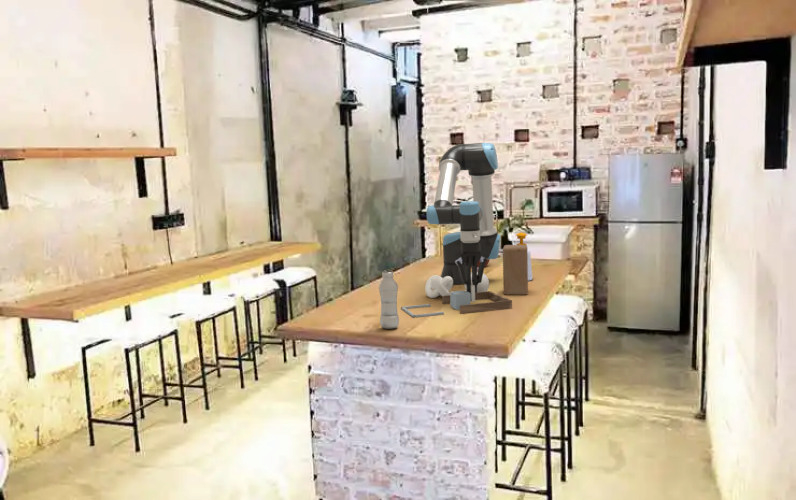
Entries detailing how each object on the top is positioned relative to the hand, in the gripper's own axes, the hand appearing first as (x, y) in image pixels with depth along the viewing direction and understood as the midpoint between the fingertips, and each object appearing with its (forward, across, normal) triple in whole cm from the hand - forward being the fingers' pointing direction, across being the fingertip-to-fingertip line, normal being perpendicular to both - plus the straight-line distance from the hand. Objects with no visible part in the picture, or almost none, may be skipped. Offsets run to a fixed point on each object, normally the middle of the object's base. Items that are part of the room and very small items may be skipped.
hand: (472, 301), depth 256 cm
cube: (+2, -5, 0) cm, 5 cm away
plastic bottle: (+2, -39, -19) cm, 43 cm away
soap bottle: (+2, +44, +43) cm, 61 cm away
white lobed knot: (+2, -6, +21) cm, 22 cm away
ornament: (+2, +9, +17) cm, 20 cm away
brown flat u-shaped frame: (+2, +2, 0) cm, 3 cm away
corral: (+2, -21, 0) cm, 21 cm away
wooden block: (+2, +26, +15) cm, 30 cm away
